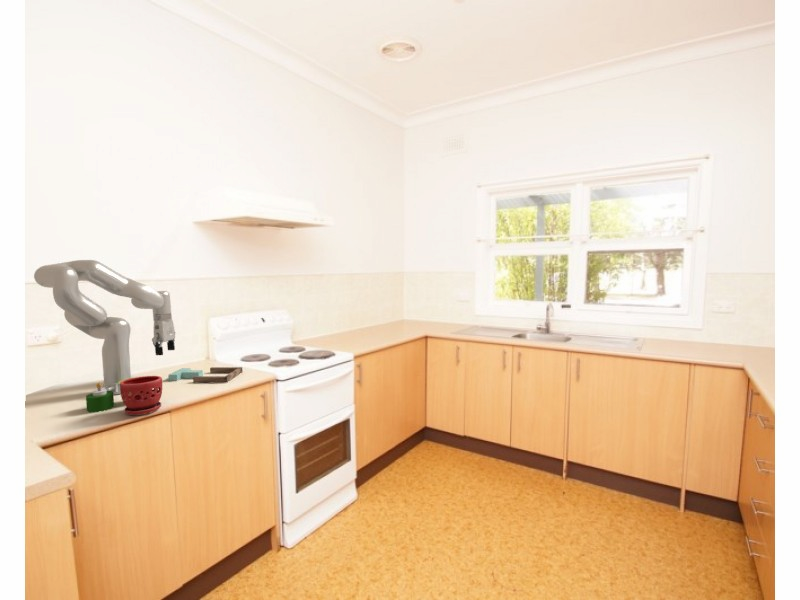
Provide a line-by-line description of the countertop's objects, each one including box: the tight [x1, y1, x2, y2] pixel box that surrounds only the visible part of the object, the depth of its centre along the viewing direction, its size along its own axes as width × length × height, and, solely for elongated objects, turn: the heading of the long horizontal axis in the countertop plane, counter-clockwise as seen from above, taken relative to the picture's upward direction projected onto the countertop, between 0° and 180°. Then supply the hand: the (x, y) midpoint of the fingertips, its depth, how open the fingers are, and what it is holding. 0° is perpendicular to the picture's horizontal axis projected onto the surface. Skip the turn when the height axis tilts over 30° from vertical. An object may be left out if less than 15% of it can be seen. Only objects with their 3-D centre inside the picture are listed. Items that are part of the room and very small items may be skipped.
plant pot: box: [120, 375, 163, 416], centre depth 150 cm, size 13×13×12 cm
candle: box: [85, 382, 115, 413], centre depth 153 cm, size 8×8×10 cm
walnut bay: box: [192, 366, 243, 383], centre depth 195 cm, size 18×16×2 cm
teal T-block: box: [168, 367, 204, 382], centre depth 195 cm, size 12×12×3 cm
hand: (165, 352), depth 195 cm, fingers open, 9 cm apart
